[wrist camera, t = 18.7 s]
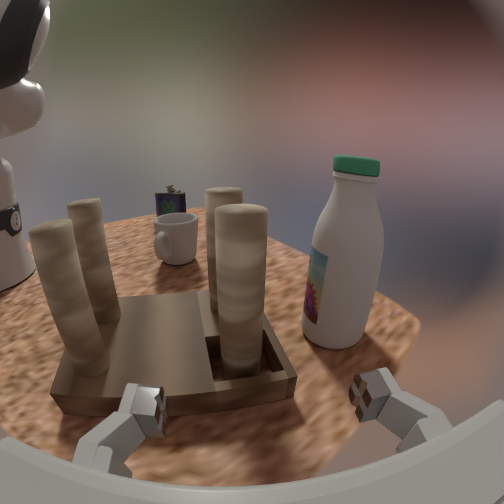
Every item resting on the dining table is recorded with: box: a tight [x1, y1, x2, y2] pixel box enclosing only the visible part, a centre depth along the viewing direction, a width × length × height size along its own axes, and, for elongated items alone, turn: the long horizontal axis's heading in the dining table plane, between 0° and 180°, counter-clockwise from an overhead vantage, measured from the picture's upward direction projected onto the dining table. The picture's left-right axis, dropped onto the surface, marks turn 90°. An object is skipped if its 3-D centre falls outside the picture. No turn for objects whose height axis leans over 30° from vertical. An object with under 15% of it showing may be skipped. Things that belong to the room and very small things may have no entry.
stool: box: [29, 187, 297, 417], centre depth 23 cm, size 22×16×16 cm
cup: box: [154, 213, 198, 265], centre depth 47 cm, size 11×8×8 cm
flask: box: [155, 185, 186, 217], centre depth 67 cm, size 9×3×11 cm, turn 71°
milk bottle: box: [302, 155, 384, 349], centre depth 27 cm, size 8×8×20 cm
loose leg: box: [215, 204, 268, 381], centre depth 21 cm, size 4×4×16 cm
